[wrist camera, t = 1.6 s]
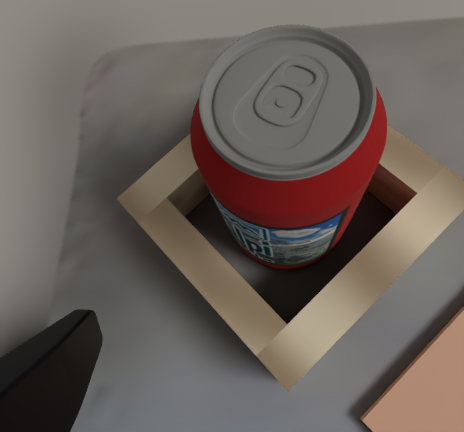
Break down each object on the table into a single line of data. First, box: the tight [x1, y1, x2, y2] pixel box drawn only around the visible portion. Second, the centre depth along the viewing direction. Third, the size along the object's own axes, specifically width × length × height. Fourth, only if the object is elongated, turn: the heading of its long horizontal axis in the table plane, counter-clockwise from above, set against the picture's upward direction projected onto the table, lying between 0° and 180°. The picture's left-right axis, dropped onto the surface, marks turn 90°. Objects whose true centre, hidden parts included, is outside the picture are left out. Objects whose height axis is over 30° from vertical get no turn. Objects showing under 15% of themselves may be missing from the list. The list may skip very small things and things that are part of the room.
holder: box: [116, 124, 464, 391], centre depth 21 cm, size 13×13×4 cm
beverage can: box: [190, 25, 387, 270], centre depth 17 cm, size 7×7×12 cm
